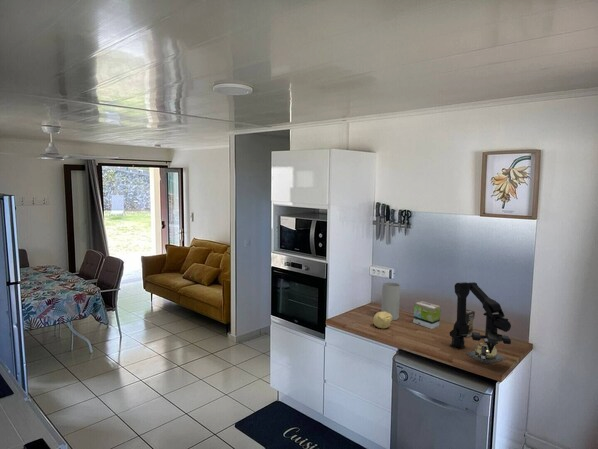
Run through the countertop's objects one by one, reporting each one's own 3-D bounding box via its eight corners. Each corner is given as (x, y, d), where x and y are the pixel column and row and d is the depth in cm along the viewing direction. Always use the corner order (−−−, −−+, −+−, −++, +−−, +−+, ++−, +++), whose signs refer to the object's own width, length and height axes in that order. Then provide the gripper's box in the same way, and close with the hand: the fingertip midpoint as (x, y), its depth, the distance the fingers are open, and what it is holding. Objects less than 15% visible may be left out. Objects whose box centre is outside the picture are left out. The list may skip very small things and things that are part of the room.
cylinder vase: (383, 314, 303) (385, 281, 301) (400, 317, 298) (402, 283, 295) (379, 319, 292) (380, 285, 289) (396, 322, 287) (398, 287, 284)
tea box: (412, 323, 285) (413, 302, 283) (420, 320, 292) (421, 300, 290) (432, 329, 274) (433, 308, 272) (439, 326, 280) (441, 305, 279)
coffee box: (465, 338, 260) (467, 313, 258) (456, 334, 265) (458, 310, 263) (473, 335, 265) (475, 311, 263) (464, 332, 270) (466, 308, 268)
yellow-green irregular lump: (476, 348, 238) (477, 335, 238) (497, 353, 233) (498, 339, 232) (472, 359, 224) (473, 345, 223) (493, 364, 218) (495, 349, 217)
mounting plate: (466, 354, 234) (467, 352, 233) (484, 350, 240) (485, 348, 240) (486, 364, 222) (486, 361, 222) (504, 359, 229) (504, 356, 228)
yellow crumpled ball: (382, 331, 268) (383, 315, 266) (369, 325, 277) (370, 310, 276) (394, 328, 274) (395, 312, 273) (381, 322, 284) (381, 307, 283)
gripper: (474, 328, 214) (473, 356, 216) (513, 332, 209) (511, 361, 210) (472, 321, 225) (471, 348, 226) (509, 325, 219) (508, 353, 221)
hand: (490, 353), depth 220 cm, fingers closed
